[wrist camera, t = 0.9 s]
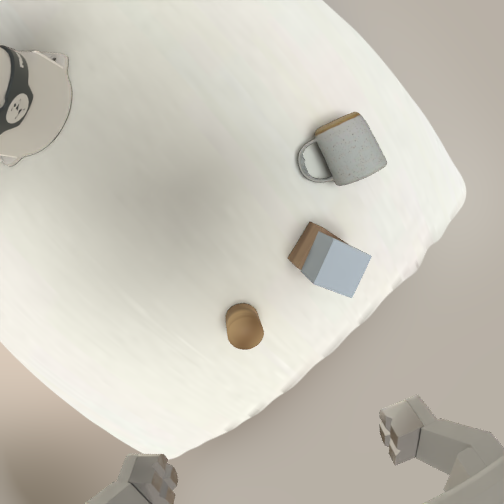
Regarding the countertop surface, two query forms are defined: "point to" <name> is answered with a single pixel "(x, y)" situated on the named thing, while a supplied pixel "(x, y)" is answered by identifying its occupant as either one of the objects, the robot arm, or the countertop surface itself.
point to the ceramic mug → (346, 150)
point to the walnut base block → (307, 244)
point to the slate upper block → (335, 265)
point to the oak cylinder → (243, 326)
